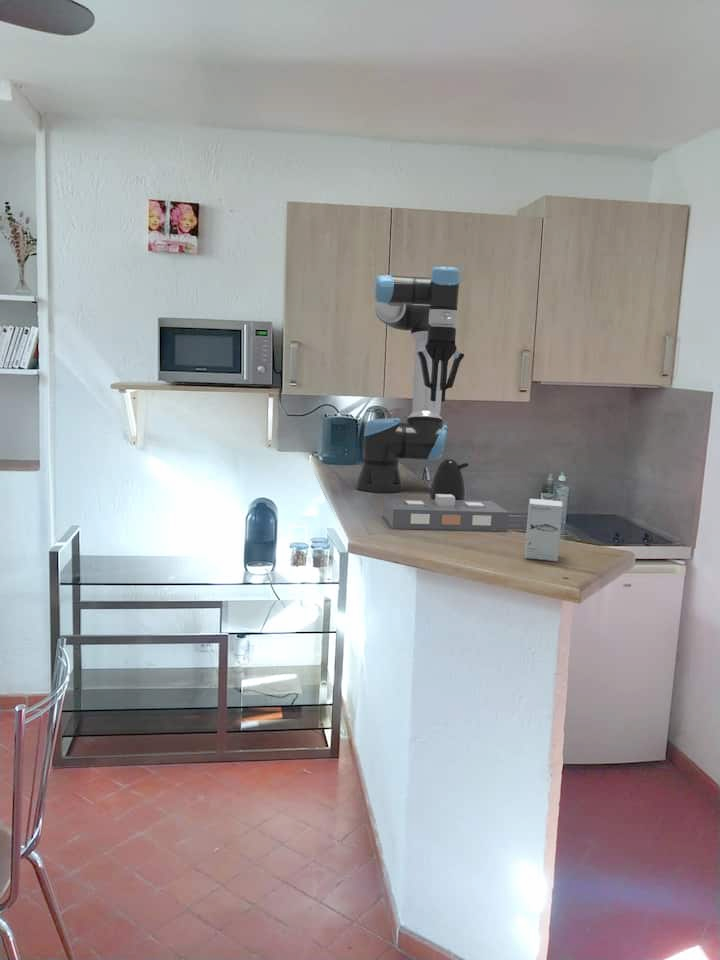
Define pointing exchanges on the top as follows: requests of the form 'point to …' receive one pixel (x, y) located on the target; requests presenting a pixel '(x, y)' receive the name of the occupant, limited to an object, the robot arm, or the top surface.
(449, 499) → the button
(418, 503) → the button
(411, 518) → the console
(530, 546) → the supplement box
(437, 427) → the robot arm
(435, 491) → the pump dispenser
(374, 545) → the top surface
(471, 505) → the button
